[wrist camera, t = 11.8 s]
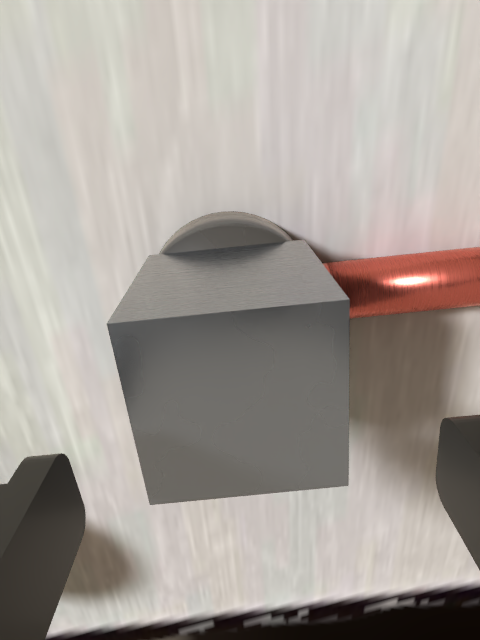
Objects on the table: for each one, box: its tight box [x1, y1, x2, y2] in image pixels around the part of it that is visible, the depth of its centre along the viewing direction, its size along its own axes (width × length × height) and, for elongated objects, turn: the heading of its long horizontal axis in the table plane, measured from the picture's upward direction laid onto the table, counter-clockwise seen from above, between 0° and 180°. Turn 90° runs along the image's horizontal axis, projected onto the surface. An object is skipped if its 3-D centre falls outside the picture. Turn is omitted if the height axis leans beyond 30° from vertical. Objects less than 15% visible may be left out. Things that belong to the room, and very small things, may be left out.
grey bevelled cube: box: [107, 240, 350, 505], centre depth 14 cm, size 6×6×6 cm
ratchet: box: [159, 211, 480, 319], centre depth 16 cm, size 23×7×8 cm, turn 96°
